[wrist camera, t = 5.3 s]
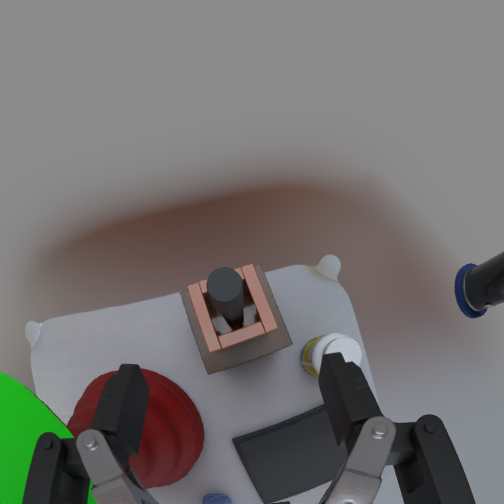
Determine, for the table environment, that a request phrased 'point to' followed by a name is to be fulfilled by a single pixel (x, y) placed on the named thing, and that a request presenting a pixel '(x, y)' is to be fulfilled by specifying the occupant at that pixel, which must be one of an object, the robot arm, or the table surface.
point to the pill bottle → (329, 351)
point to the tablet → (291, 455)
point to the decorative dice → (216, 499)
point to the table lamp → (44, 420)
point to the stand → (245, 351)
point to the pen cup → (215, 326)
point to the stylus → (227, 294)
